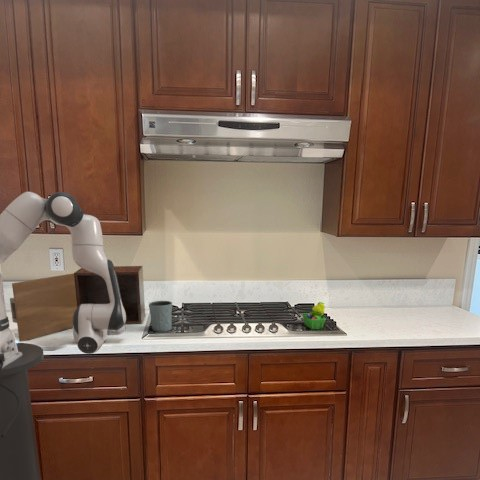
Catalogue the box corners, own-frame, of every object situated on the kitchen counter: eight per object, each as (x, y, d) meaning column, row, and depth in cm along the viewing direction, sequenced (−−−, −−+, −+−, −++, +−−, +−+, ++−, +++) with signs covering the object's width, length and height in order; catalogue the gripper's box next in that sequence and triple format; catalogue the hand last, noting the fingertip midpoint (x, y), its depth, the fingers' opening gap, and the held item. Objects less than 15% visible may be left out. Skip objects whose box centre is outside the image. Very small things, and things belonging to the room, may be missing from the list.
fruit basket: (300, 324, 216) (301, 300, 213) (318, 322, 218) (319, 299, 215) (310, 330, 205) (311, 305, 202) (328, 329, 207) (330, 304, 204)
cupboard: (141, 323, 216) (138, 271, 210) (78, 325, 213) (73, 272, 207) (145, 314, 233) (142, 265, 227) (87, 315, 231) (82, 266, 224)
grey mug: (177, 329, 208) (176, 302, 205) (159, 333, 201) (158, 306, 197) (163, 324, 214) (161, 299, 211) (145, 329, 207) (143, 303, 204)
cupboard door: (11, 338, 193) (3, 281, 187) (69, 323, 216) (64, 272, 210) (20, 341, 190) (13, 283, 183) (79, 325, 212) (74, 273, 206)
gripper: (122, 324, 183) (127, 315, 196) (68, 326, 181) (77, 316, 194) (123, 339, 184) (128, 329, 198) (70, 341, 182) (78, 331, 196)
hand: (102, 323), depth 196 cm, fingers open, 8 cm apart
